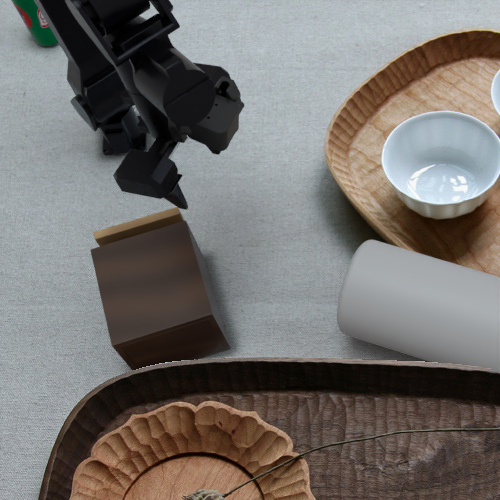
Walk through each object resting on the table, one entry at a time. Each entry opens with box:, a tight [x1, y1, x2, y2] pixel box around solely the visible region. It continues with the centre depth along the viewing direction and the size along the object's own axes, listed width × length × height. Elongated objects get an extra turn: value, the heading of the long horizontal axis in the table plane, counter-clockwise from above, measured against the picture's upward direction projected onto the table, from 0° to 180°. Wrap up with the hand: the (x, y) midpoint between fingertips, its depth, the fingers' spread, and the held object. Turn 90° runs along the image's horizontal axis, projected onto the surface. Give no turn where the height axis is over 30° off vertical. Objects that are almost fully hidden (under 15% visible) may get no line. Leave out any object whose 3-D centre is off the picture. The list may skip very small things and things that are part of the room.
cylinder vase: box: [336, 239, 500, 373], centre depth 101 cm, size 12×12×25 cm
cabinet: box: [90, 219, 232, 371], centre depth 105 cm, size 15×13×10 cm
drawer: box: [93, 206, 185, 247], centre depth 107 cm, size 15×11×8 cm
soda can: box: [10, 0, 59, 47], centre depth 125 cm, size 5×5×12 cm
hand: (200, 180), depth 100 cm, fingers open, 9 cm apart
